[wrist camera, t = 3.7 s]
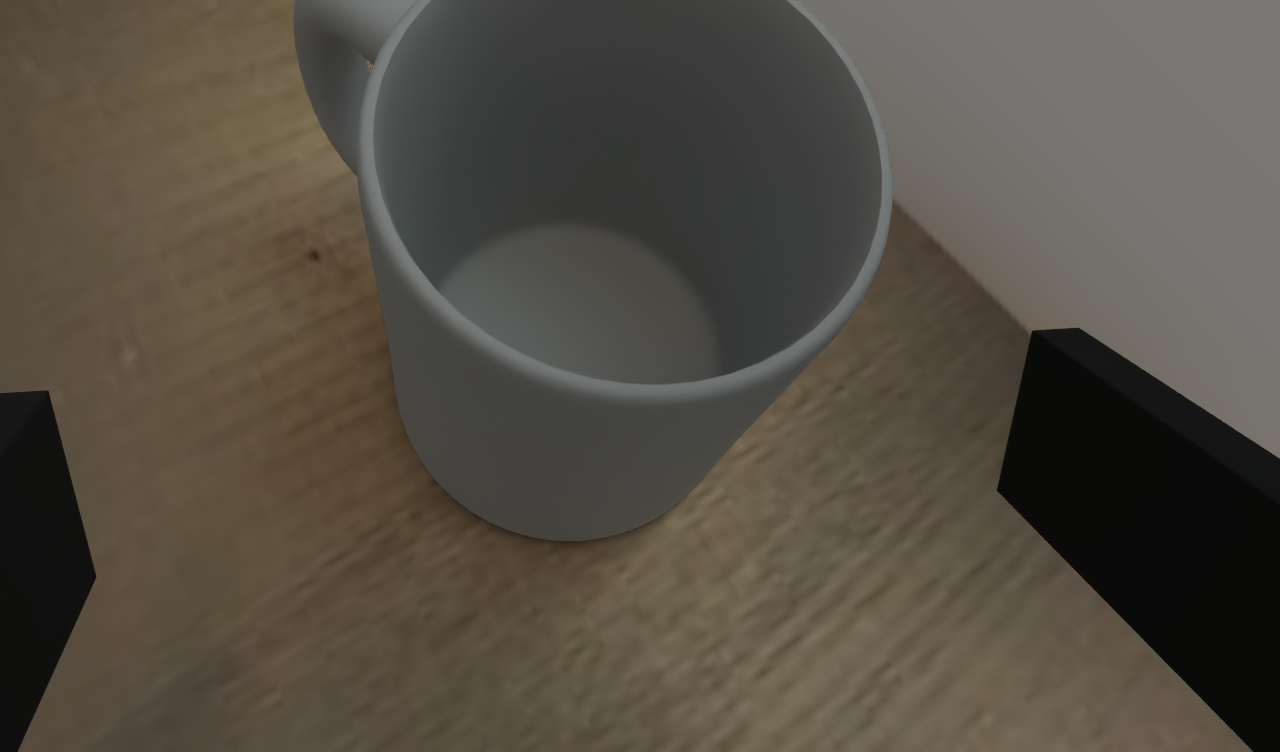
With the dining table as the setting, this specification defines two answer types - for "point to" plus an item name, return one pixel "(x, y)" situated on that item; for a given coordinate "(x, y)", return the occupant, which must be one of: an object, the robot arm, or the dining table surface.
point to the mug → (598, 231)
